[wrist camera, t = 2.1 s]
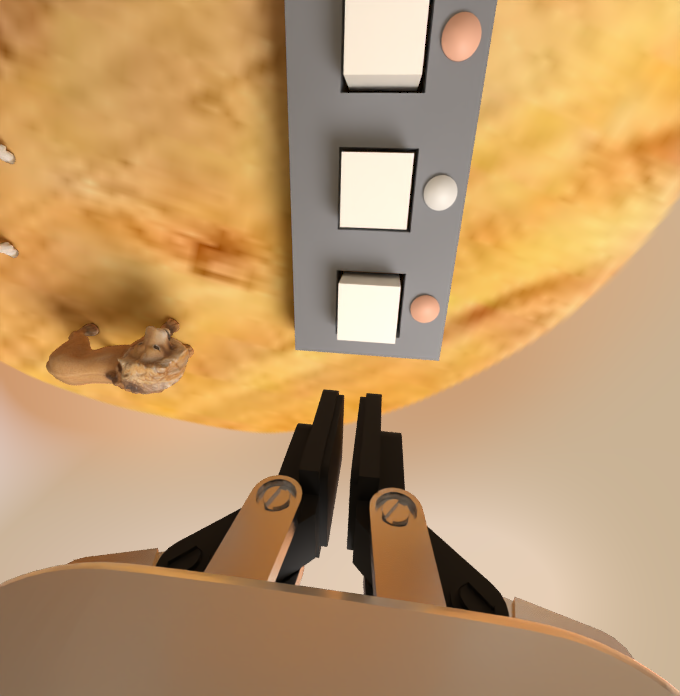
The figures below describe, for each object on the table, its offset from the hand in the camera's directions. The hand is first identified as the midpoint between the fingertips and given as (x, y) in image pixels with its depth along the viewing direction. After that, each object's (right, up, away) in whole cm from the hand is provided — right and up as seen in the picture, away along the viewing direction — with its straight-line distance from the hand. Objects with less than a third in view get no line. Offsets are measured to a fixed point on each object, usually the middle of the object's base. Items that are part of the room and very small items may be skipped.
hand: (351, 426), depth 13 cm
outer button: (+2, +7, +14) cm, 16 cm away
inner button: (+2, +20, +8) cm, 22 cm away
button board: (+2, +14, +12) cm, 19 cm away
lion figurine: (-18, +4, +20) cm, 27 cm away
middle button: (+2, +13, +11) cm, 17 cm away
